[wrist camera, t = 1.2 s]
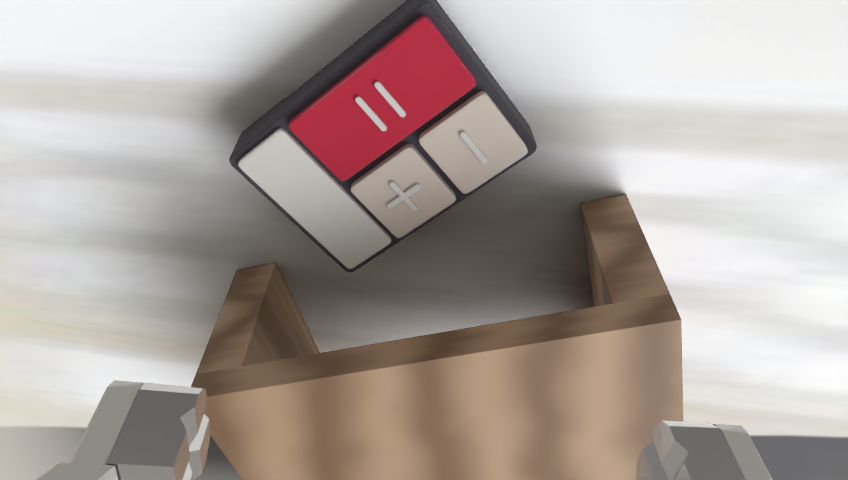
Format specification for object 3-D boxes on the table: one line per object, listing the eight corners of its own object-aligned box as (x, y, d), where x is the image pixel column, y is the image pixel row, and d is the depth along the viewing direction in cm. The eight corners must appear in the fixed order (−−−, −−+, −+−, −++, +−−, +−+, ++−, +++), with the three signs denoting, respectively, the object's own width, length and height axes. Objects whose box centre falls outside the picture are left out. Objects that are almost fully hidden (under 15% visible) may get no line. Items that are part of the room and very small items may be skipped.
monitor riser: (625, 194, 43) (681, 319, 33) (638, 357, 52) (684, 492, 42) (236, 270, 47) (185, 400, 38) (312, 407, 56) (286, 540, 47)
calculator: (542, 155, 37) (348, 282, 42) (530, 124, 41) (352, 245, 46) (427, 2, 32) (222, 167, 37) (425, -19, 36) (238, 134, 41)
